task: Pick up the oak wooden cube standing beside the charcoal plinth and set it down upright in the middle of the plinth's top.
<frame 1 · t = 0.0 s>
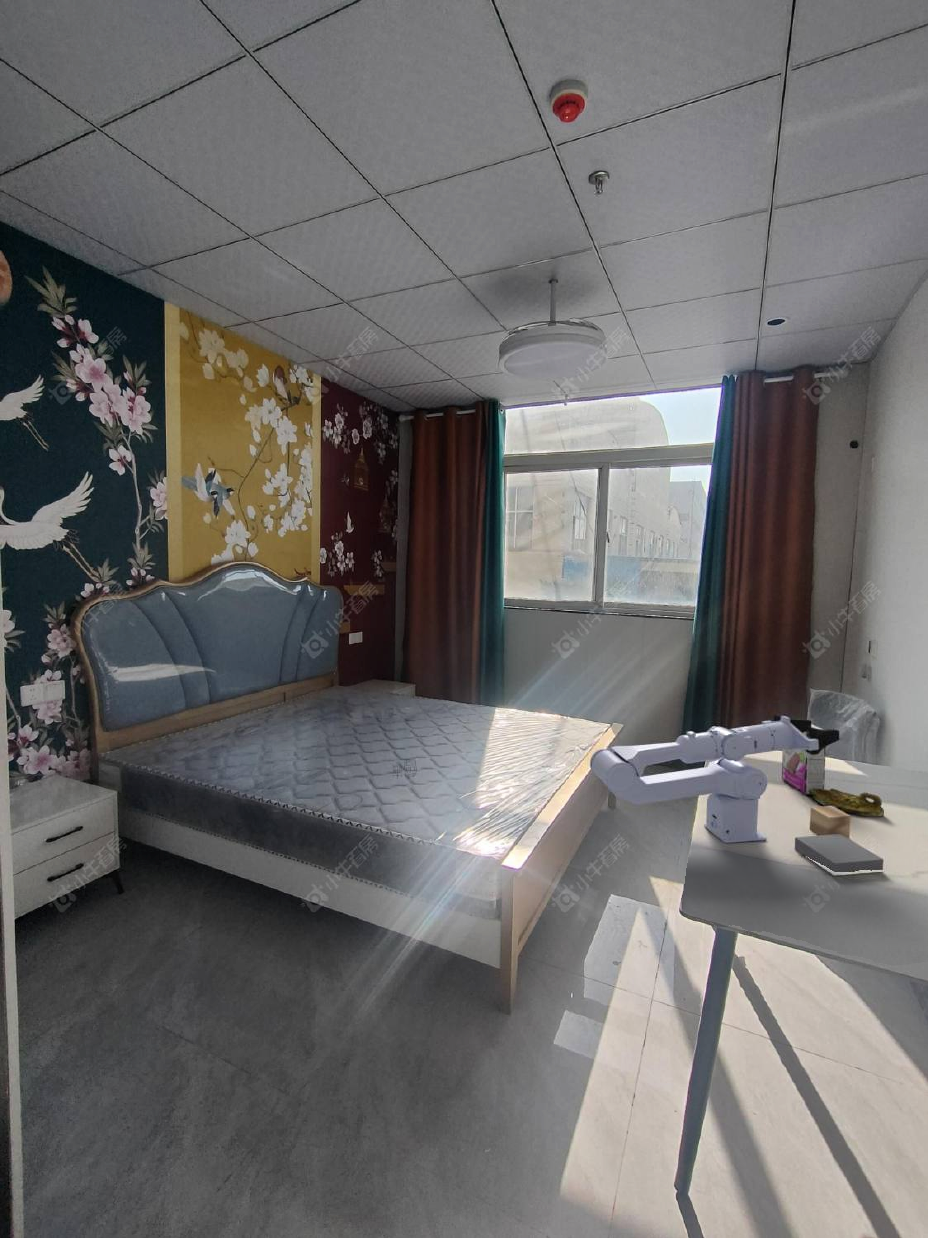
hand: (823, 729, 119), 22 cm above the table, tool horizontal, fingers open, 7 cm apart
candy bar box: (801, 788, 142), on the table, touching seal
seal: (844, 805, 132), on the table, touching candy bar box
oak cube: (829, 834, 118), on the table
charcoal plinth: (836, 860, 107), on the table
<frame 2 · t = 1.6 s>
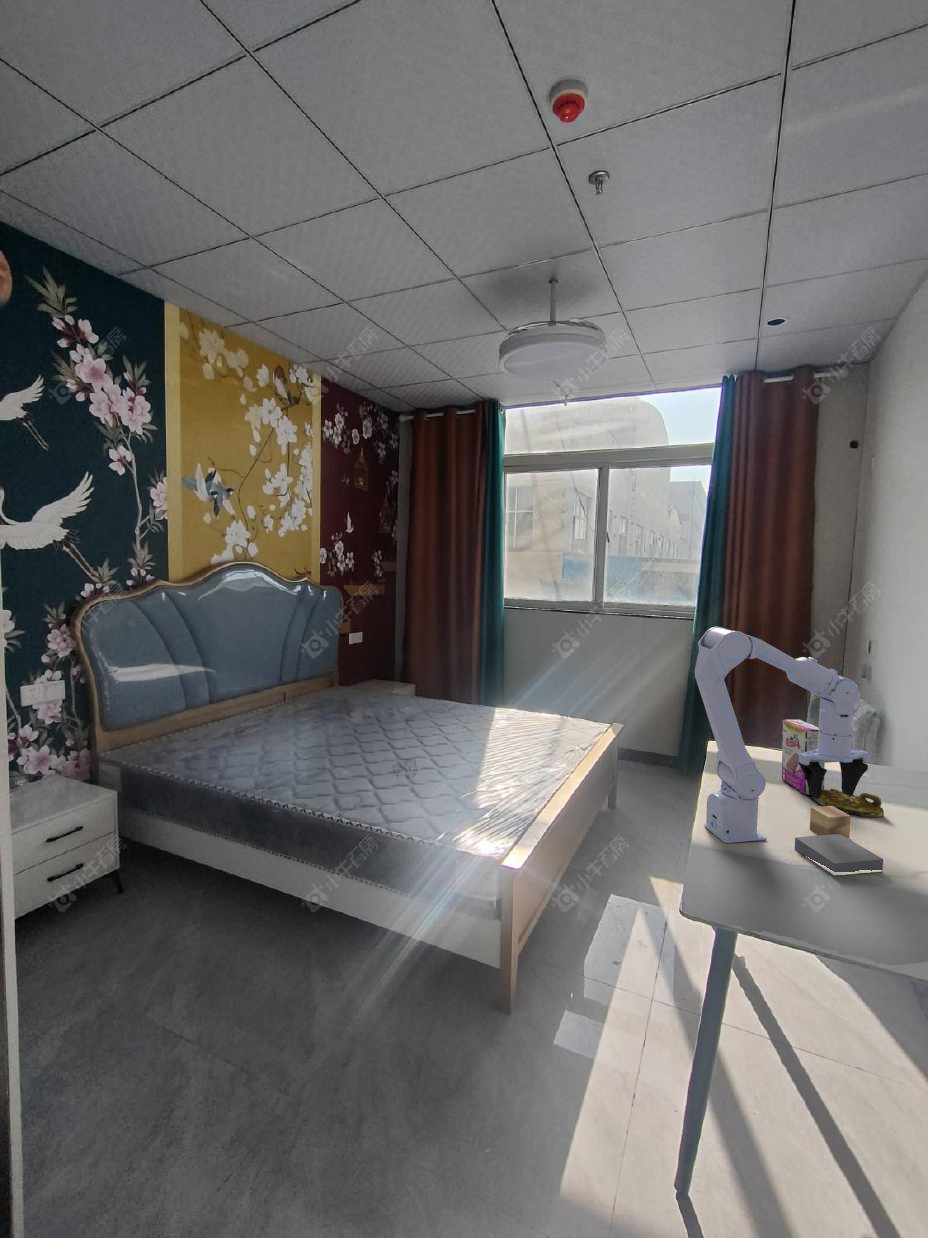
hand: (831, 795, 117), 8 cm above the table, tool pointing down, fingers open, 7 cm apart
nothing on the table moved.
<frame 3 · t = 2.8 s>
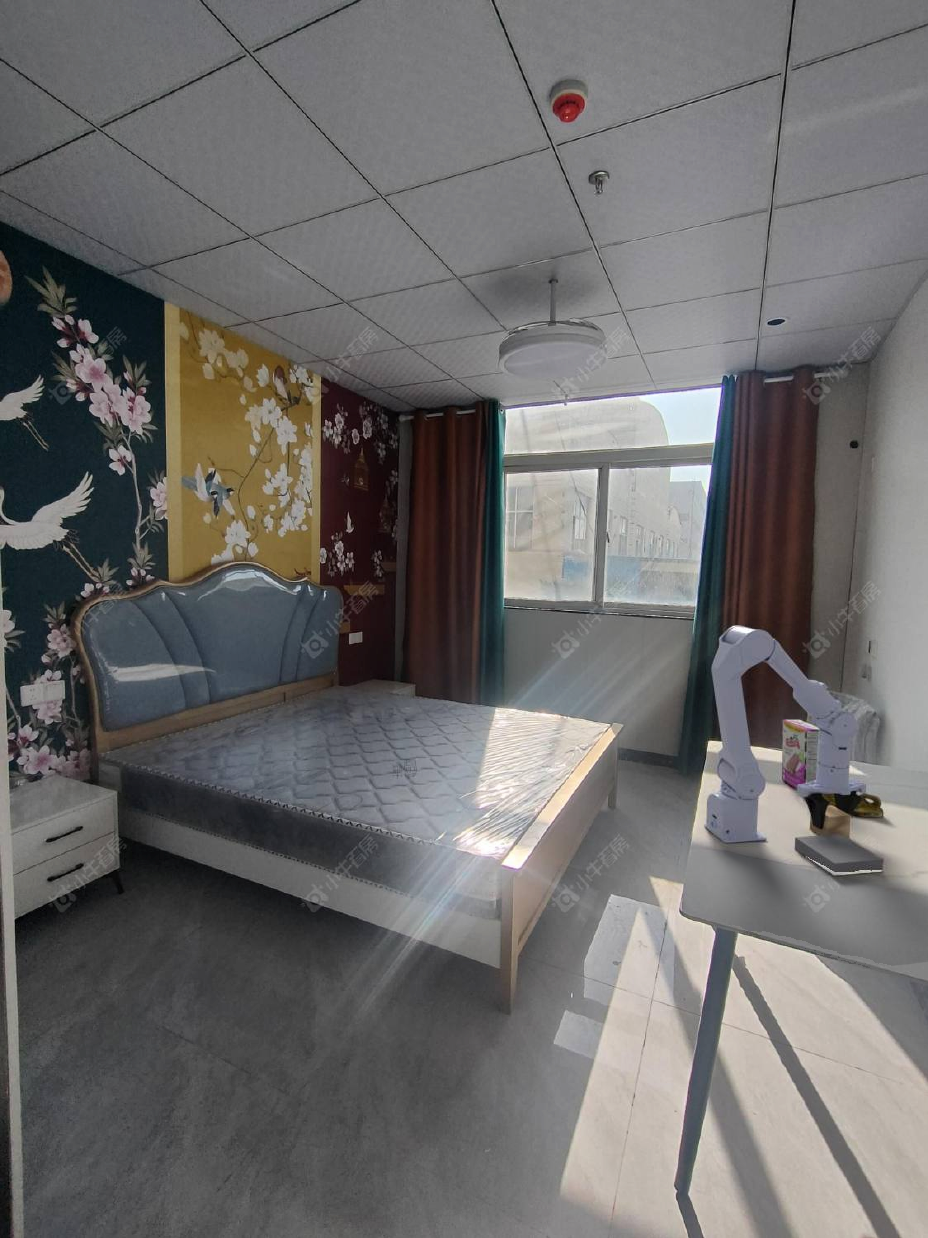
hand: (829, 826, 118), 2 cm above the table, tool pointing down, fingers closed on oak cube, 5 cm apart
oak cube: (829, 833, 118), on the table, touching gripper
everything else where it was.
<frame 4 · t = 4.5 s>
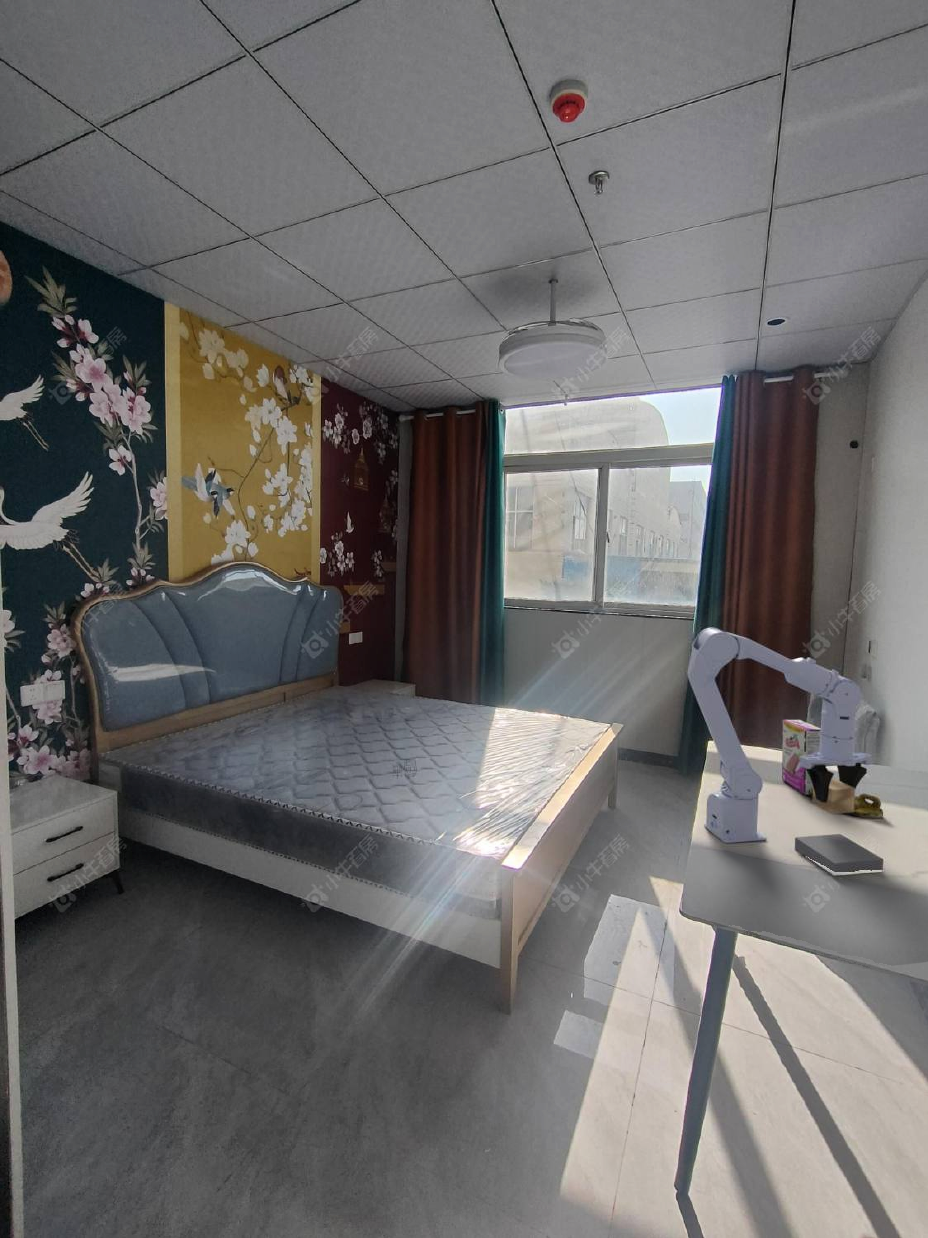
hand: (833, 799, 114), 9 cm above the table, tool pointing down, fingers closed on oak cube, 5 cm apart
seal: (843, 806, 131), on the table, touching candy bar box
oak cube: (832, 807, 114), point 7 cm above the table, touching gripper
everything else where it was.
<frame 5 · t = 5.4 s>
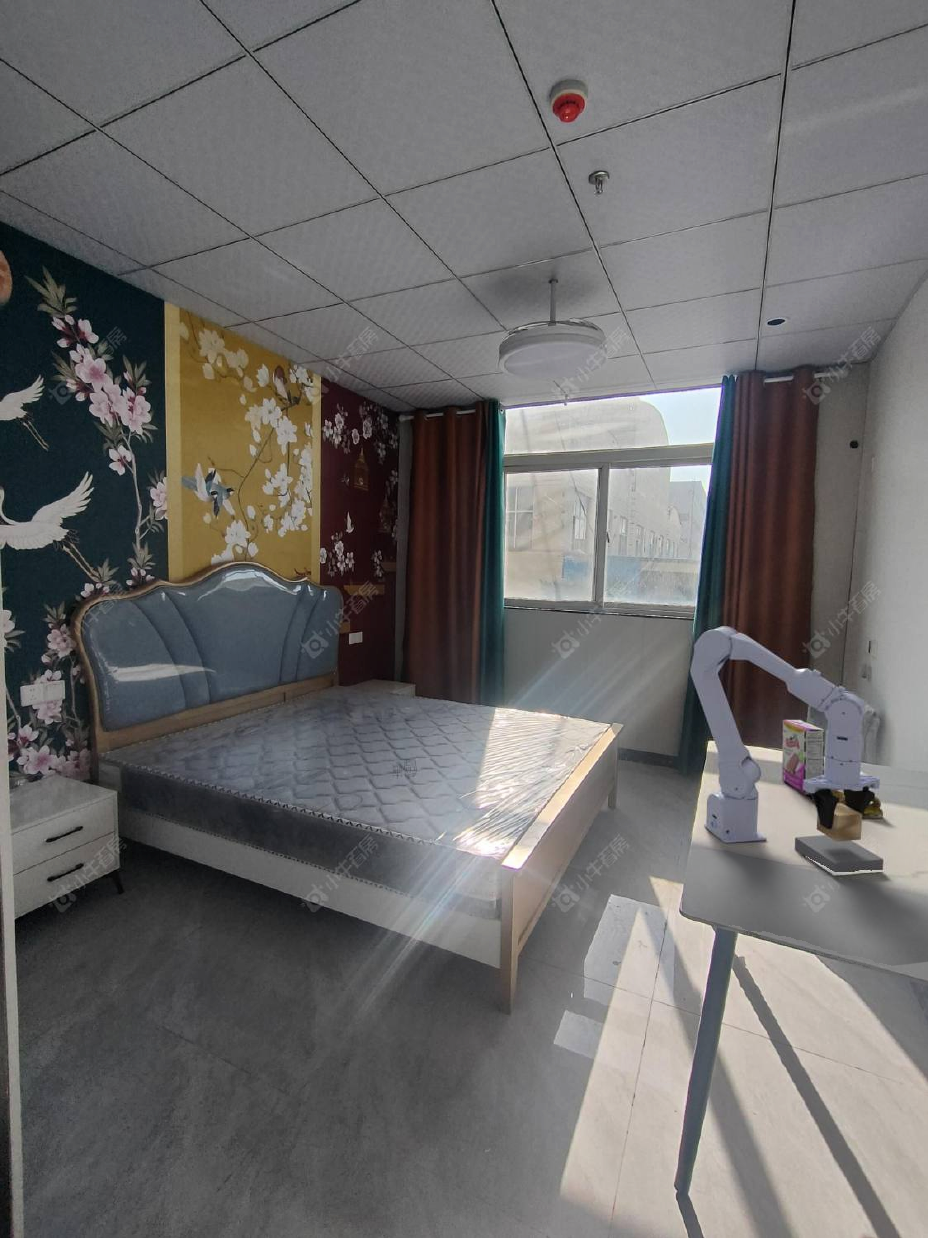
hand: (839, 825, 107), 7 cm above the table, tool pointing down, fingers closed on oak cube, 5 cm apart
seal: (843, 806, 131), on the table, touching candy bar box
oak cube: (838, 834, 107), point 5 cm above the table, touching gripper
everything else where it was.
when the fingers open (5 cm above the table, at t = 6.2 s): oak cube stays where it is, resting on charcoal plinth.
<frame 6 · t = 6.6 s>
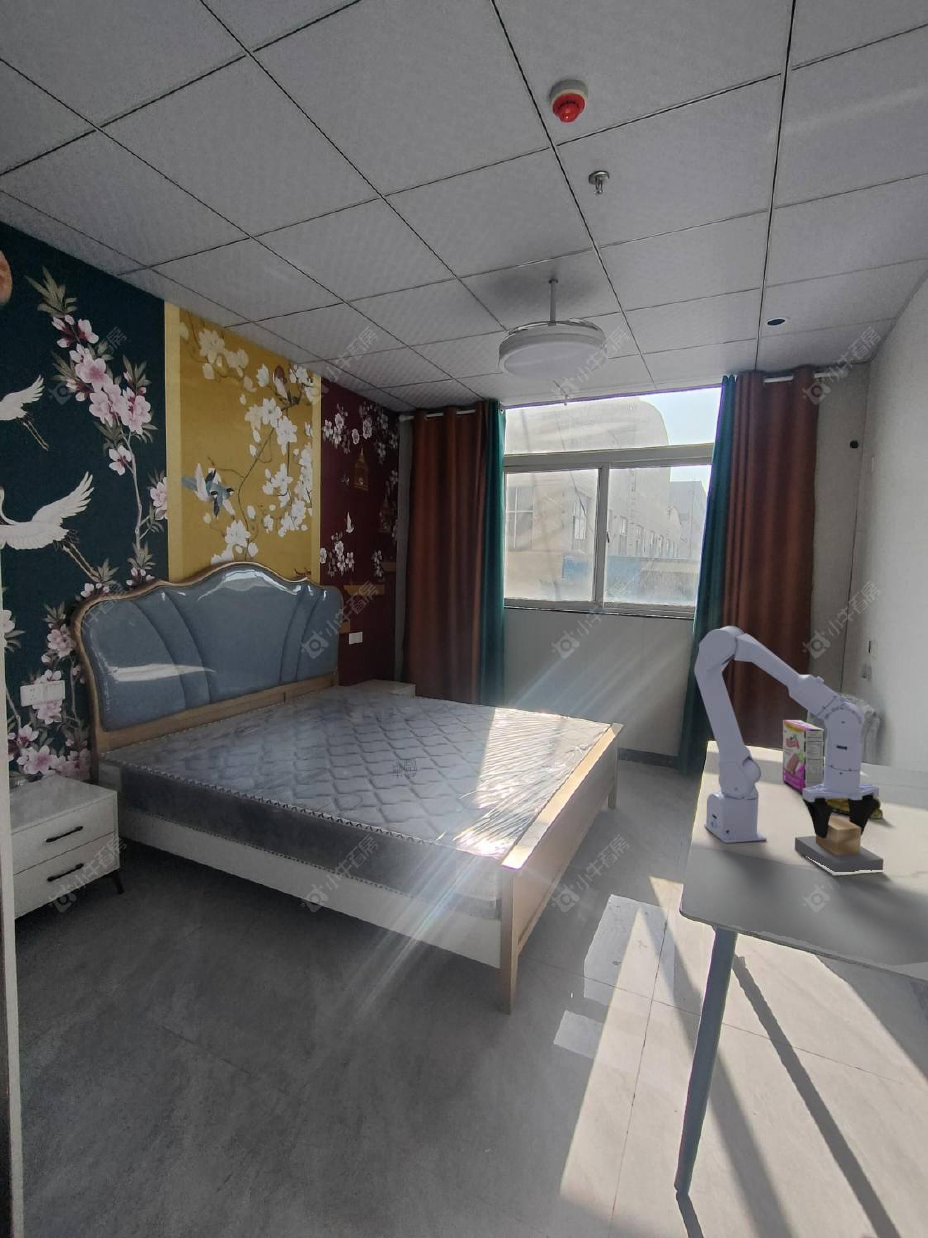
hand: (838, 834, 107), 5 cm above the table, tool pointing down, fingers open, 7 cm apart
oak cube: (837, 847, 107), point 2 cm above the table, touching charcoal plinth
everything else where it was.
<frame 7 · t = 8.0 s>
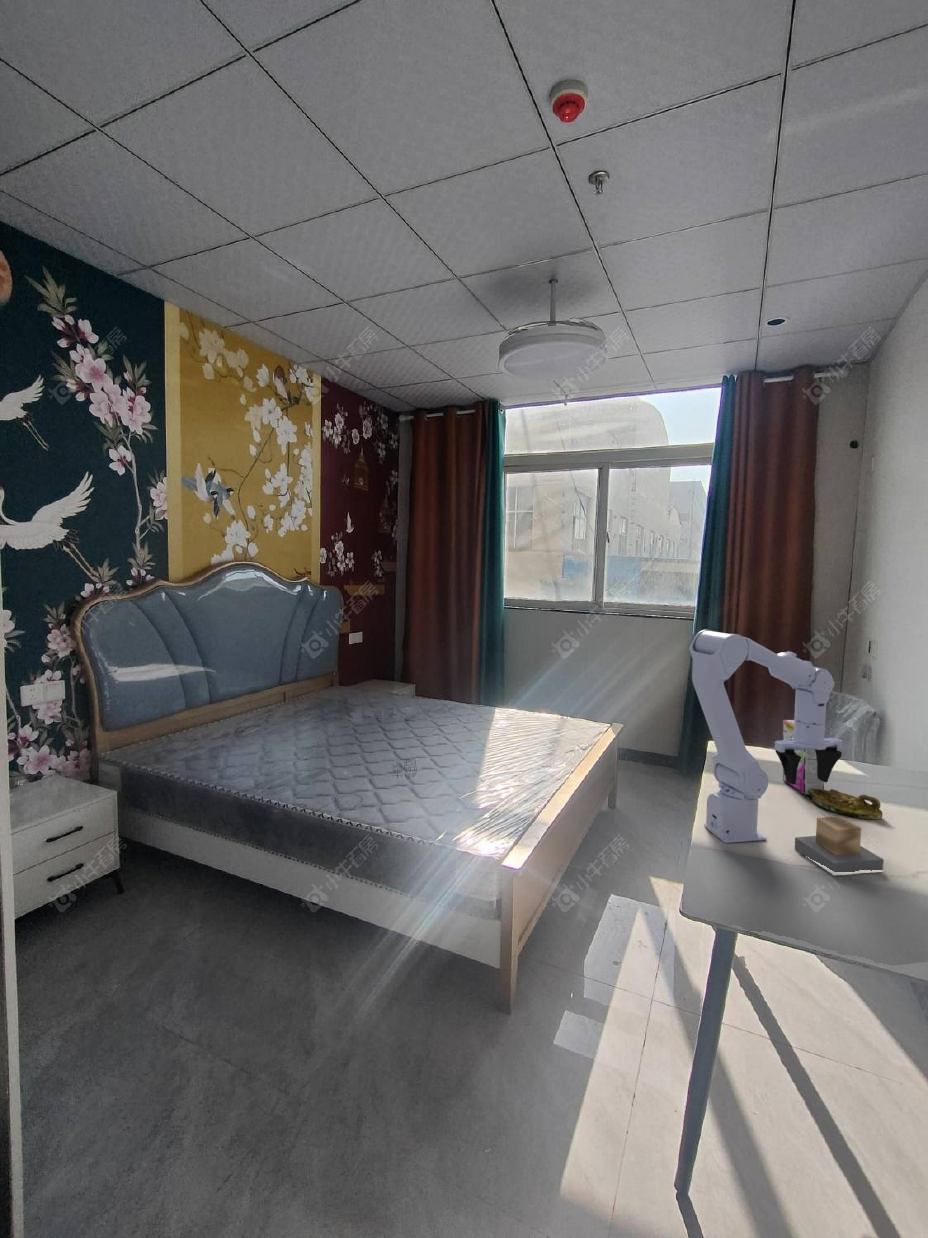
hand: (806, 781, 122), 9 cm above the table, tool pointing down, fingers open, 7 cm apart
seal: (843, 807, 130), on the table, touching candy bar box
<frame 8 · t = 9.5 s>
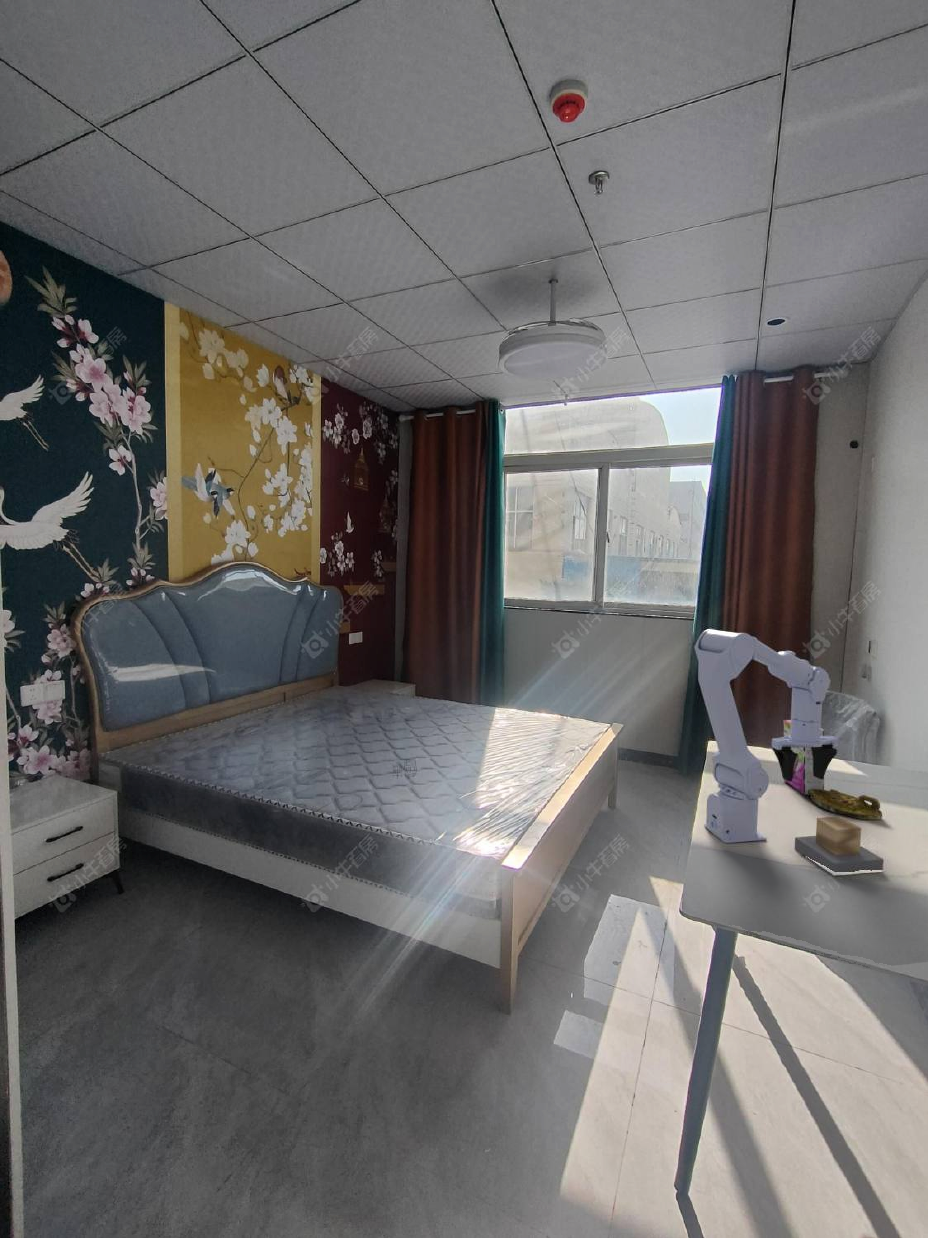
hand: (802, 778, 124), 9 cm above the table, tool pointing down, fingers open, 7 cm apart
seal: (843, 807, 130), on the table, touching candy bar box
at the end: oak cube 0.1 cm off-centre on the charcoal plinth, point 2.5 cm above the charcoal plinth's base; oak cube tilted 0°; the gripper is holding nothing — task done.
